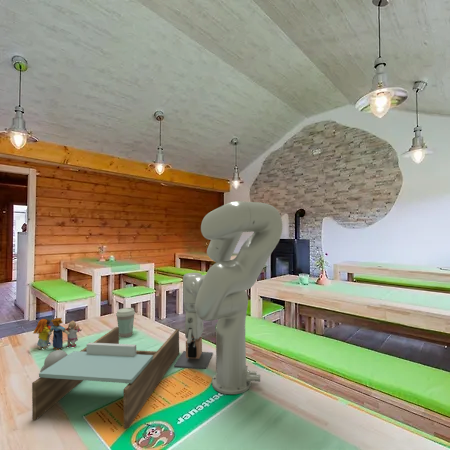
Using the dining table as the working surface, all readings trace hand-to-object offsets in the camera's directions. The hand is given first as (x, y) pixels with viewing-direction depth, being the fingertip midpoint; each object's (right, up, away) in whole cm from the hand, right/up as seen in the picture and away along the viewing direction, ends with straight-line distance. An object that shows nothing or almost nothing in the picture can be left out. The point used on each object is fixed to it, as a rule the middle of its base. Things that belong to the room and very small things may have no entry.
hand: (194, 353), depth 105 cm
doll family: (-62, -4, +13) cm, 63 cm away
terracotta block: (0, -1, 0) cm, 1 cm away
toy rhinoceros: (-45, -4, -10) cm, 46 cm away
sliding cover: (-25, +7, -24) cm, 36 cm away
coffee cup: (-36, -4, +26) cm, 45 cm away
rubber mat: (0, -3, 0) cm, 3 cm away
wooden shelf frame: (-23, -3, -13) cm, 27 cm away
